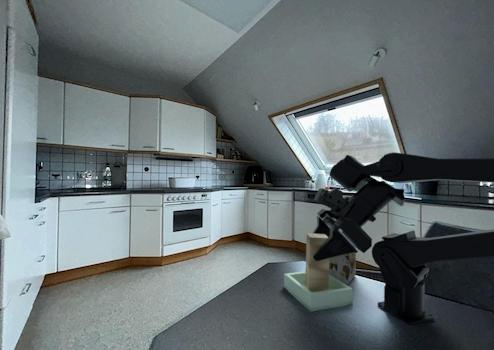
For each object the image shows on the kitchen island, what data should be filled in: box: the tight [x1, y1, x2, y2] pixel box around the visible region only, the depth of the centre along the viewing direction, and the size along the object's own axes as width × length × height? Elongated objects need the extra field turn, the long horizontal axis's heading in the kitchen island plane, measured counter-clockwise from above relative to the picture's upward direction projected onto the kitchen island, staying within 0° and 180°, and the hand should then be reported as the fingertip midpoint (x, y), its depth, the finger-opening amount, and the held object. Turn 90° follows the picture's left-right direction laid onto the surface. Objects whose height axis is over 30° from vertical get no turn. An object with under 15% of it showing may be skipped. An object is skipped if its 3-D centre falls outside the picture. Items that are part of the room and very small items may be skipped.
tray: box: [283, 270, 354, 312], centre depth 47 cm, size 10×10×3 cm
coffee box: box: [329, 248, 357, 285], centre depth 57 cm, size 9×6×16 cm
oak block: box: [305, 232, 329, 292], centre depth 47 cm, size 4×4×12 cm
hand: (310, 252), depth 47 cm, fingers open, 8 cm apart
